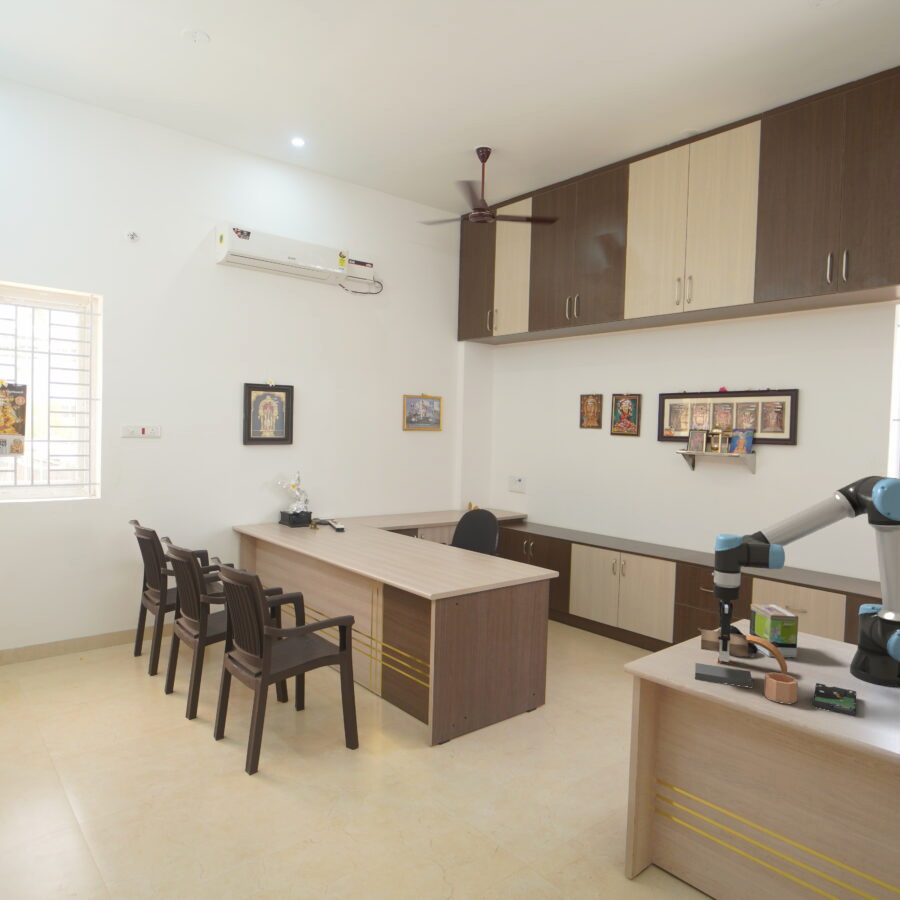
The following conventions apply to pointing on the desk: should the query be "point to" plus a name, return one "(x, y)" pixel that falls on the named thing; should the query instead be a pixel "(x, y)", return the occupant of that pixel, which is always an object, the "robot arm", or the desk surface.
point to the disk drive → (835, 699)
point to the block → (723, 675)
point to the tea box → (775, 628)
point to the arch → (770, 648)
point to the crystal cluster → (751, 647)
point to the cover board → (713, 643)
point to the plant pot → (780, 687)
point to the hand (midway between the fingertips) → (723, 654)
